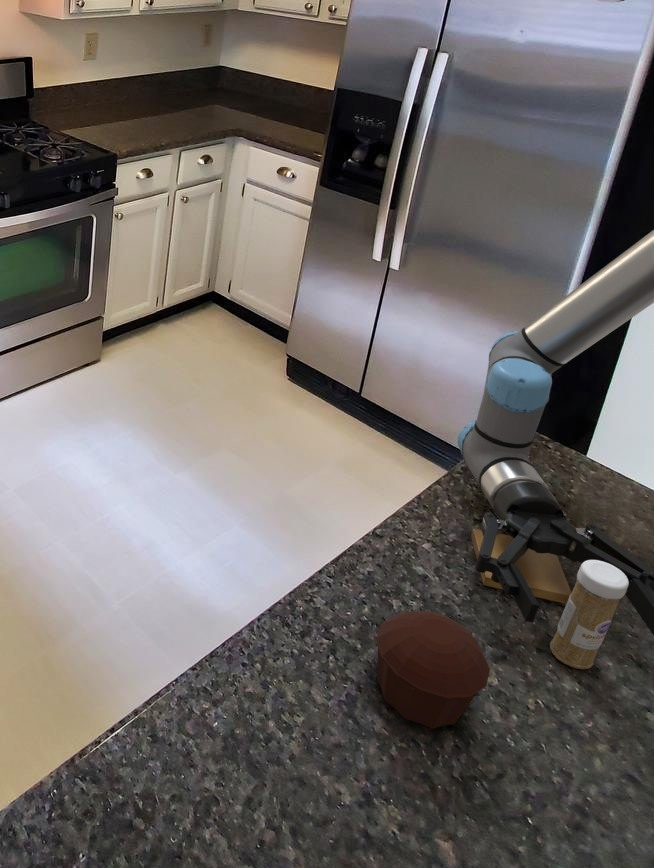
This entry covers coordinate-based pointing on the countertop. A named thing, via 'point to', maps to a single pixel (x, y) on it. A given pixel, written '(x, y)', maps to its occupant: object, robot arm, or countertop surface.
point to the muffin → (429, 667)
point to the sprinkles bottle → (588, 613)
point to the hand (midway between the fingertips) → (597, 621)
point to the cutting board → (529, 569)
